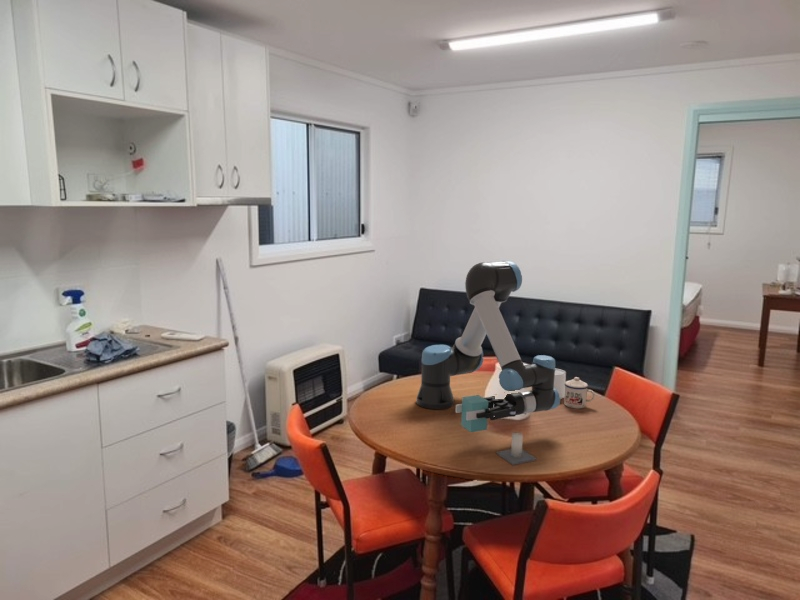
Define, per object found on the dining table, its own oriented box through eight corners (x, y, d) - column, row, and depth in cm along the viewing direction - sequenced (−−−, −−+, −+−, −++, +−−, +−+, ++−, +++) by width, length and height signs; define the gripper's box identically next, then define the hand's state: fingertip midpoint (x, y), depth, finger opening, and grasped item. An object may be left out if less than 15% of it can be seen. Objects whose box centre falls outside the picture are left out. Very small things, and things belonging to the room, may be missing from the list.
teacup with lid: (561, 406, 230) (563, 378, 228) (565, 399, 238) (567, 373, 236) (592, 411, 225) (594, 383, 223) (595, 404, 233) (597, 377, 231)
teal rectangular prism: (470, 432, 186) (472, 403, 184) (461, 425, 191) (462, 397, 190) (486, 429, 188) (488, 401, 187) (476, 422, 194) (478, 394, 192)
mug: (544, 388, 253) (545, 365, 251) (567, 391, 249) (569, 368, 247) (537, 397, 241) (539, 372, 239) (562, 400, 237) (563, 376, 235)
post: (512, 465, 177) (514, 442, 176) (496, 453, 185) (497, 431, 184) (536, 460, 181) (537, 437, 180) (519, 449, 189) (520, 427, 188)
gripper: (535, 424, 188) (476, 434, 179) (502, 404, 206) (446, 412, 196) (537, 402, 187) (477, 412, 178) (503, 384, 204) (447, 392, 195)
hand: (461, 412), depth 187 cm, fingers closed on teal rectangular prism, 6 cm apart
